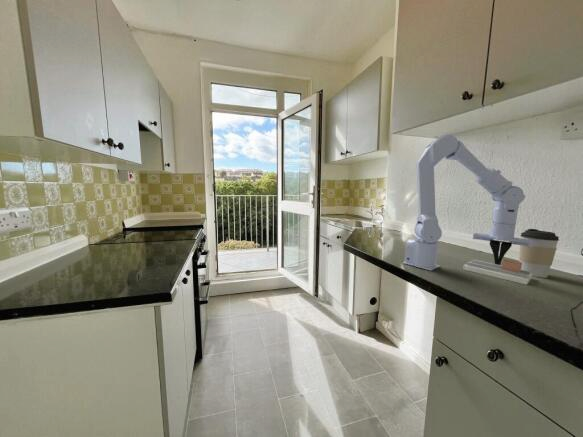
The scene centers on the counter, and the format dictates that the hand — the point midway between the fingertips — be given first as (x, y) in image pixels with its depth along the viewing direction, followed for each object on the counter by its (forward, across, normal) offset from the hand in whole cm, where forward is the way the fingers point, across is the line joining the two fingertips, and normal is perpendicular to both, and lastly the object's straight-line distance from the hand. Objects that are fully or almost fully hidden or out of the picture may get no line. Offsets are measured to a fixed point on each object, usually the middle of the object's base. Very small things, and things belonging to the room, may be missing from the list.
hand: (497, 264), depth 79 cm
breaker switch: (+2, +3, 0) cm, 4 cm away
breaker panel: (+3, 0, 0) cm, 3 cm away
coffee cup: (+3, +9, +11) cm, 15 cm away
